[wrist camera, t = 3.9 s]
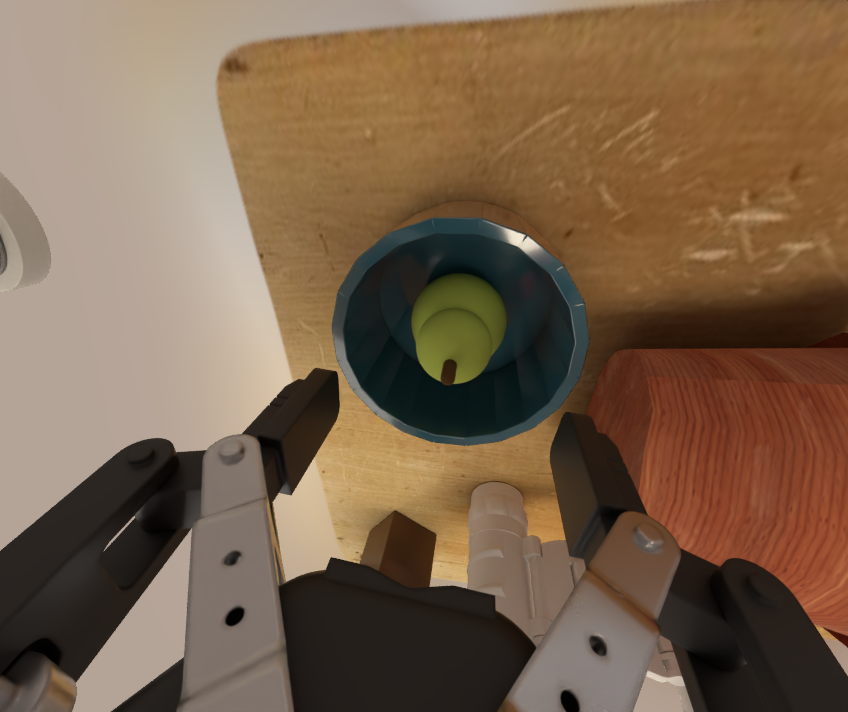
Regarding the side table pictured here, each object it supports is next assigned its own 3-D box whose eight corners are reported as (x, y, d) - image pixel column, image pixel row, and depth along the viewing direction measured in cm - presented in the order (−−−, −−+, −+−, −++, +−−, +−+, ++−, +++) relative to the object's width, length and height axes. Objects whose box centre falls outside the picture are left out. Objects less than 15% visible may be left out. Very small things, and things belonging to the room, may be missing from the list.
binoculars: (687, 485, 26) (982, 958, 10) (672, 529, 28) (890, 961, 13) (464, 477, 29) (438, 820, 14) (468, 517, 32) (450, 844, 17)
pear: (404, 310, 22) (361, 386, 14) (453, 243, 19) (432, 294, 12) (467, 355, 23) (458, 450, 15) (522, 297, 20) (544, 376, 13)
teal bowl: (344, 312, 23) (295, 363, 17) (443, 152, 18) (421, 146, 12) (475, 402, 25) (471, 476, 19) (602, 284, 20) (652, 337, 14)
